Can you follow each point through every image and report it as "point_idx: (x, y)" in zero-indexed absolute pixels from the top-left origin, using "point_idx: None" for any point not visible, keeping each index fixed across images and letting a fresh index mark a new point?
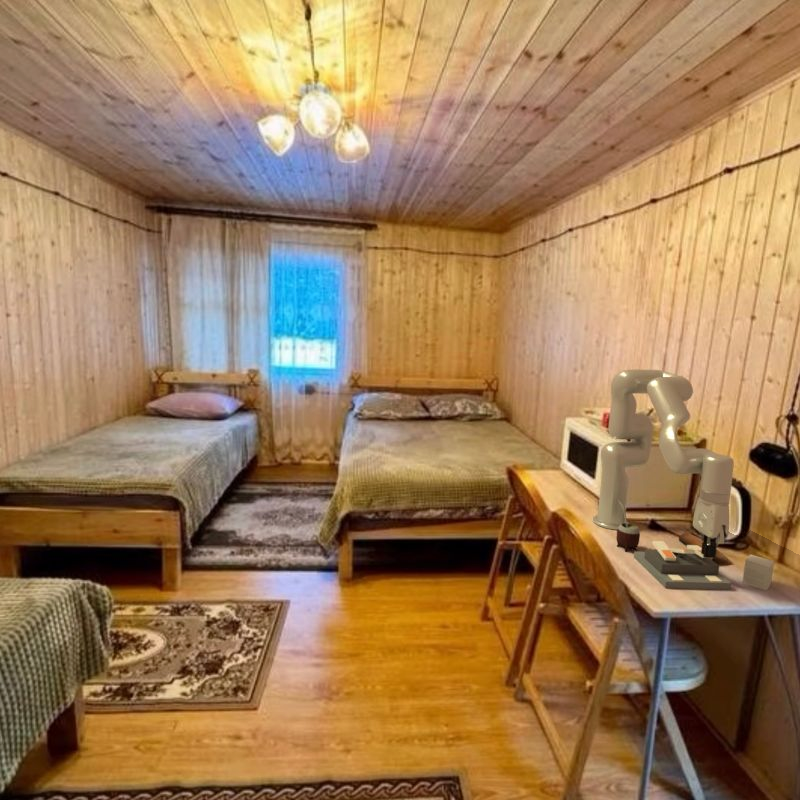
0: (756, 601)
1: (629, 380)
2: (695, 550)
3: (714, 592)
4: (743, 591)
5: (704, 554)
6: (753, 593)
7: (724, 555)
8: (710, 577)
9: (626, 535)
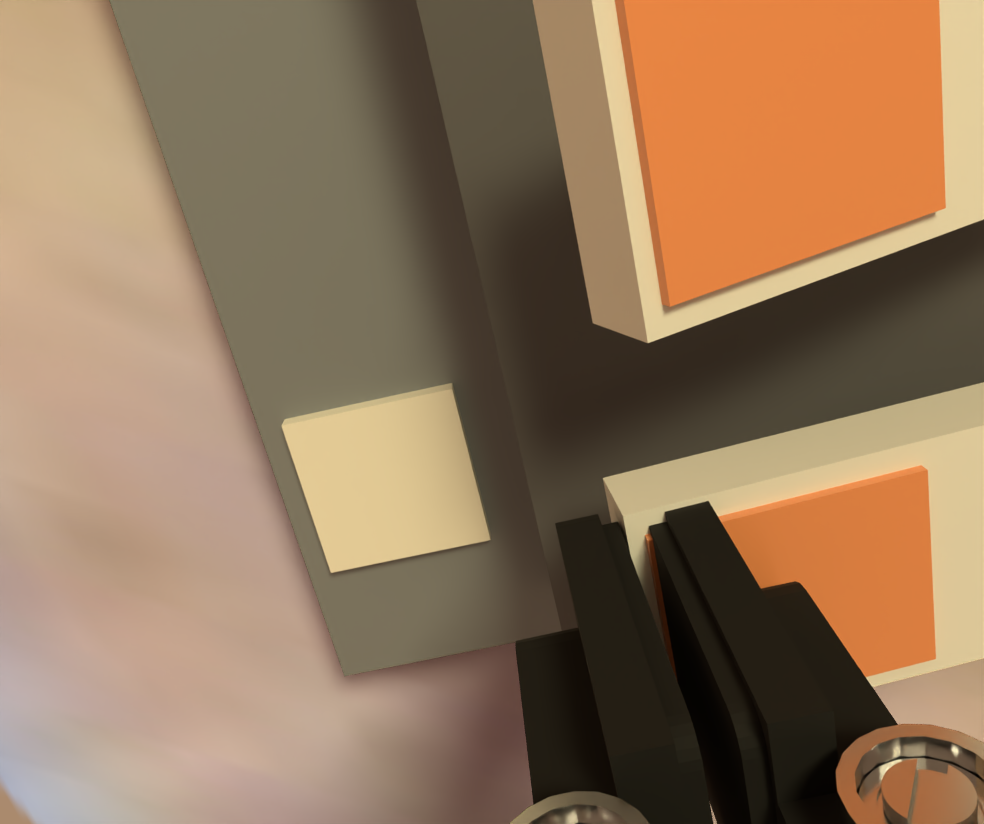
0: (147, 777)
1: None
2: (934, 434)
3: (190, 390)
4: (361, 736)
5: (571, 548)
6: (347, 814)
7: None
8: (402, 449)
9: None
